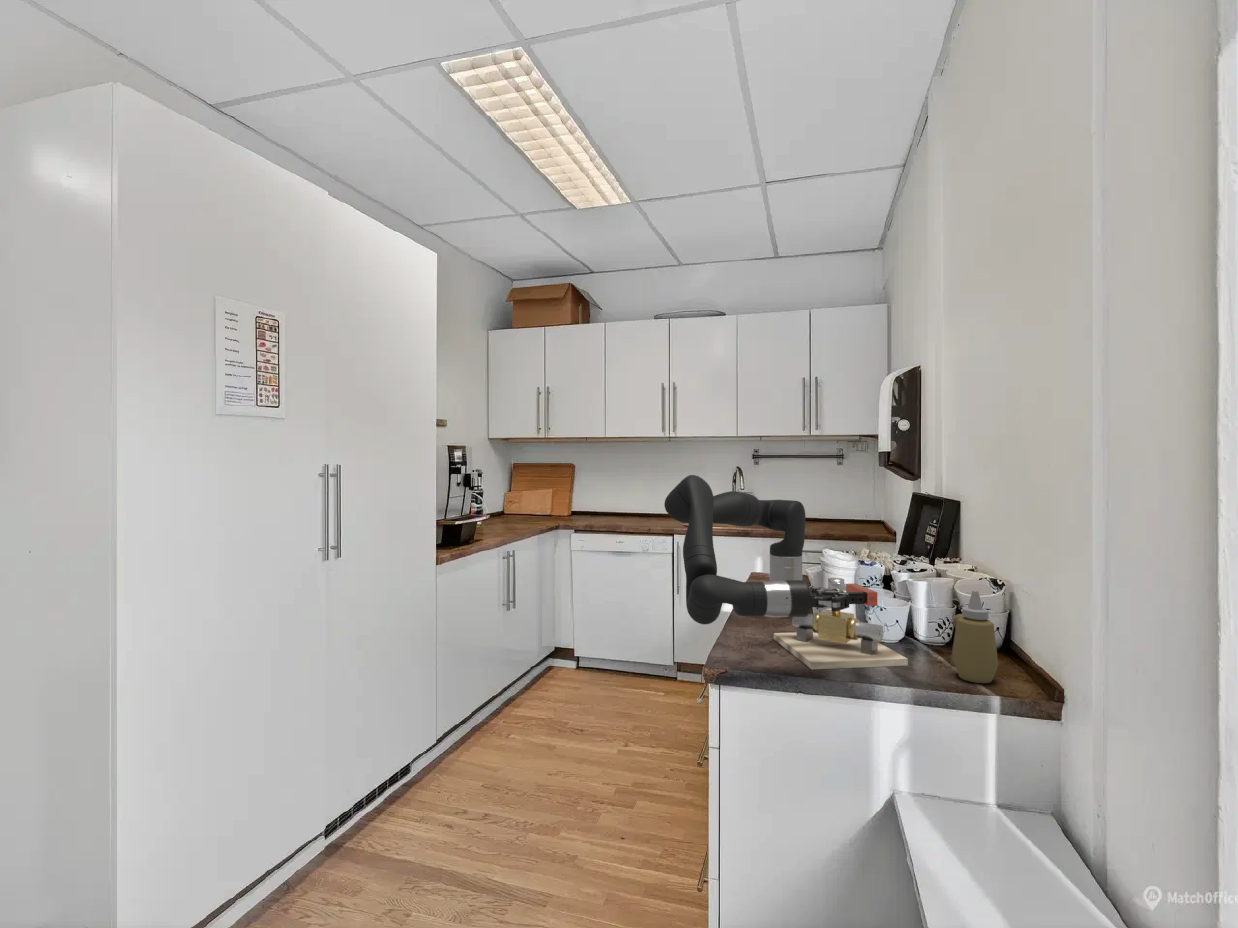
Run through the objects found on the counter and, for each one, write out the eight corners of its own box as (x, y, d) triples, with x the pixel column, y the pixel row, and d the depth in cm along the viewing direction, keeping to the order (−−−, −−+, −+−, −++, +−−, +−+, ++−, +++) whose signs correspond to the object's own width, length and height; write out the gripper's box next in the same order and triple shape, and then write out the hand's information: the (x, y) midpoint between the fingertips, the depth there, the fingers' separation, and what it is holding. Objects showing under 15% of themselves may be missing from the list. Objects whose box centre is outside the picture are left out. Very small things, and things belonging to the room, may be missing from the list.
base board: (773, 638, 150) (773, 633, 150) (856, 636, 152) (856, 630, 152) (811, 669, 128) (811, 662, 128) (907, 665, 130) (907, 658, 130)
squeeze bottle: (990, 674, 125) (991, 588, 125) (1004, 688, 117) (1004, 597, 117) (947, 670, 127) (948, 586, 127) (958, 683, 119) (958, 594, 119)
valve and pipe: (790, 639, 144) (790, 586, 144) (799, 634, 148) (799, 582, 148) (877, 656, 131) (877, 598, 131) (884, 650, 136) (884, 593, 136)
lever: (825, 587, 141) (825, 576, 141) (839, 587, 142) (839, 575, 142) (864, 605, 124) (864, 592, 124) (880, 605, 124) (880, 592, 124)
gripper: (795, 587, 117) (880, 586, 119) (772, 574, 131) (849, 574, 132) (794, 625, 117) (879, 624, 119) (772, 608, 131) (849, 608, 132)
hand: (863, 597), depth 125 cm, fingers closed
